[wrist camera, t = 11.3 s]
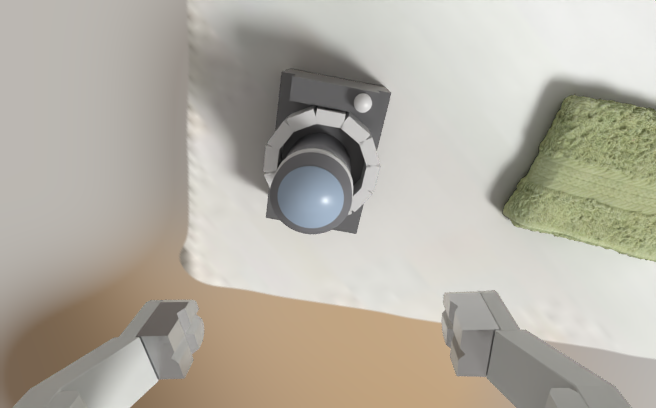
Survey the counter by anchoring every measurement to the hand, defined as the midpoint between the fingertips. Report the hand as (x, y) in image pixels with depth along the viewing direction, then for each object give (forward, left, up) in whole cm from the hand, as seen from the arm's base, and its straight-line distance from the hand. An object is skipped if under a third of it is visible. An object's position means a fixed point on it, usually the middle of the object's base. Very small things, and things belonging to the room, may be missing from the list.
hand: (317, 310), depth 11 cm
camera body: (0, -1, -21) cm, 21 cm away
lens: (0, -1, -17) cm, 17 cm away
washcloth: (+17, +19, -22) cm, 34 cm away
